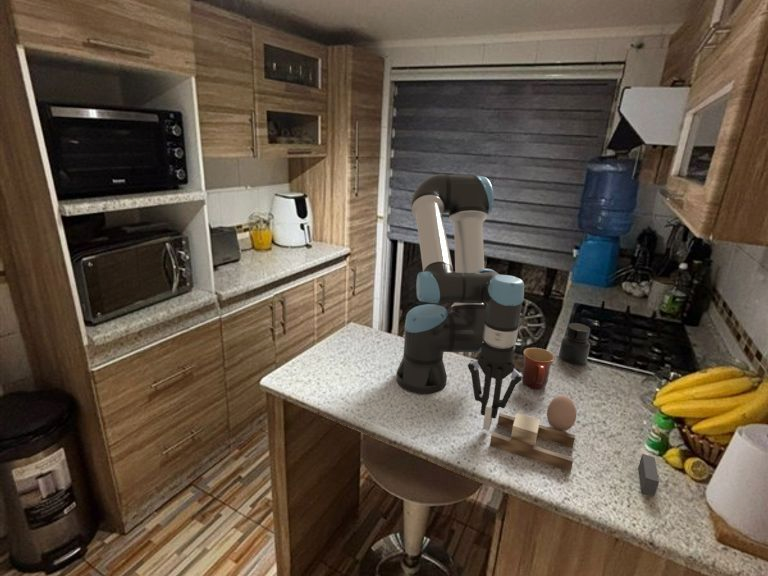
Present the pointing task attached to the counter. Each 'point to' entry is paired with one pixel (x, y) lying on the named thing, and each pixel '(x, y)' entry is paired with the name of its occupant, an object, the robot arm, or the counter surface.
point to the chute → (533, 451)
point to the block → (525, 429)
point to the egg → (561, 413)
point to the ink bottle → (575, 344)
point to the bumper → (648, 475)
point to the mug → (536, 367)
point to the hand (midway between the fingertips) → (487, 426)
